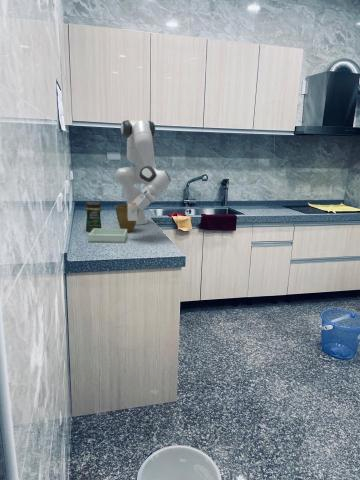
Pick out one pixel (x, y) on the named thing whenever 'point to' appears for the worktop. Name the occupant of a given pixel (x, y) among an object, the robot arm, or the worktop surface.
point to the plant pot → (124, 218)
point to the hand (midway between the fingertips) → (131, 211)
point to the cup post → (130, 215)
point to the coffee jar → (93, 215)
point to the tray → (108, 235)
